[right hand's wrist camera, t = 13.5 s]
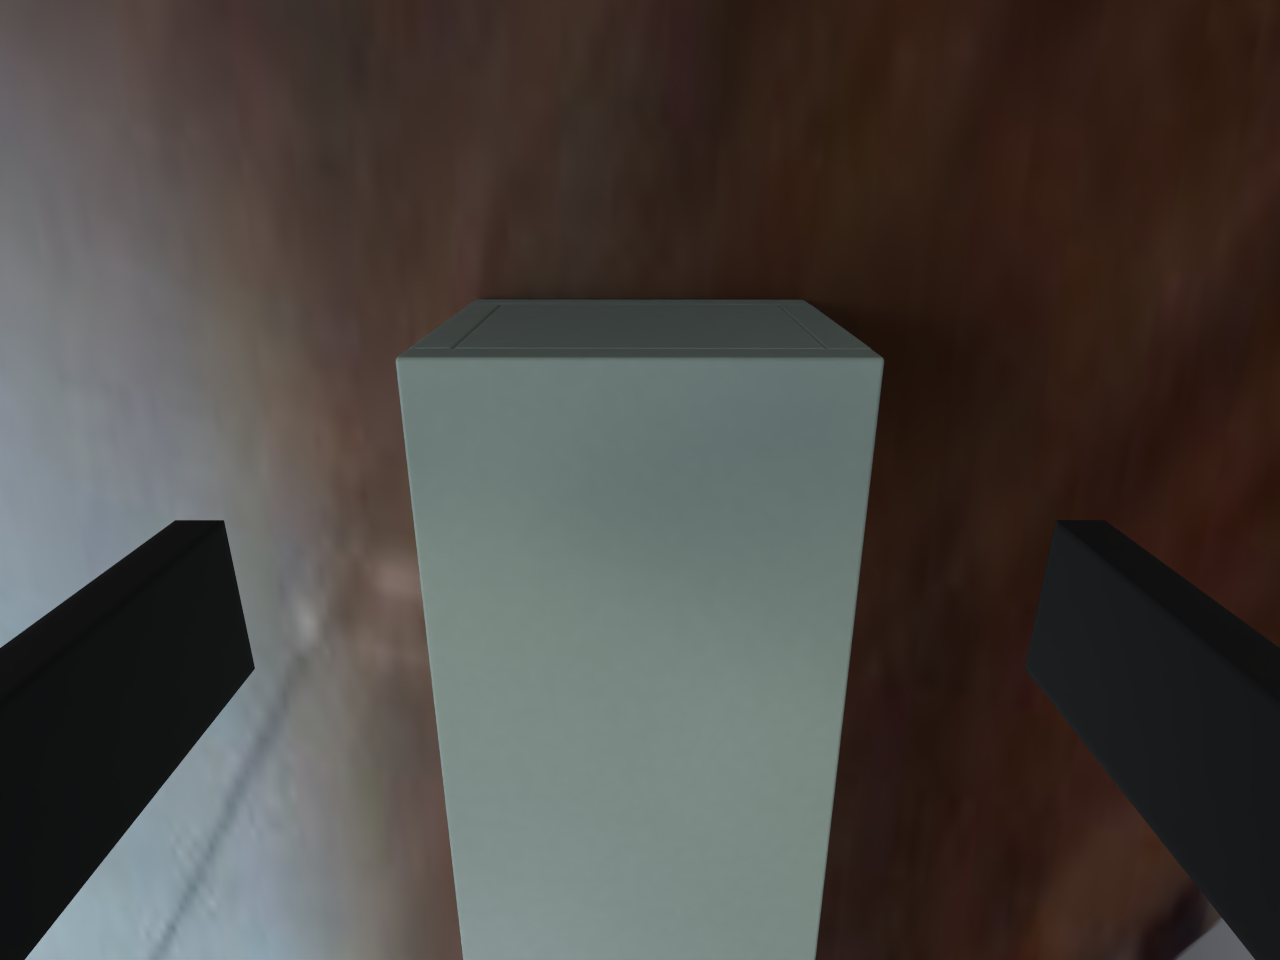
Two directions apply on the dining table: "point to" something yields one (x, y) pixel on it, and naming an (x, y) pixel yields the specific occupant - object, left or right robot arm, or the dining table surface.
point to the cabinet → (639, 615)
